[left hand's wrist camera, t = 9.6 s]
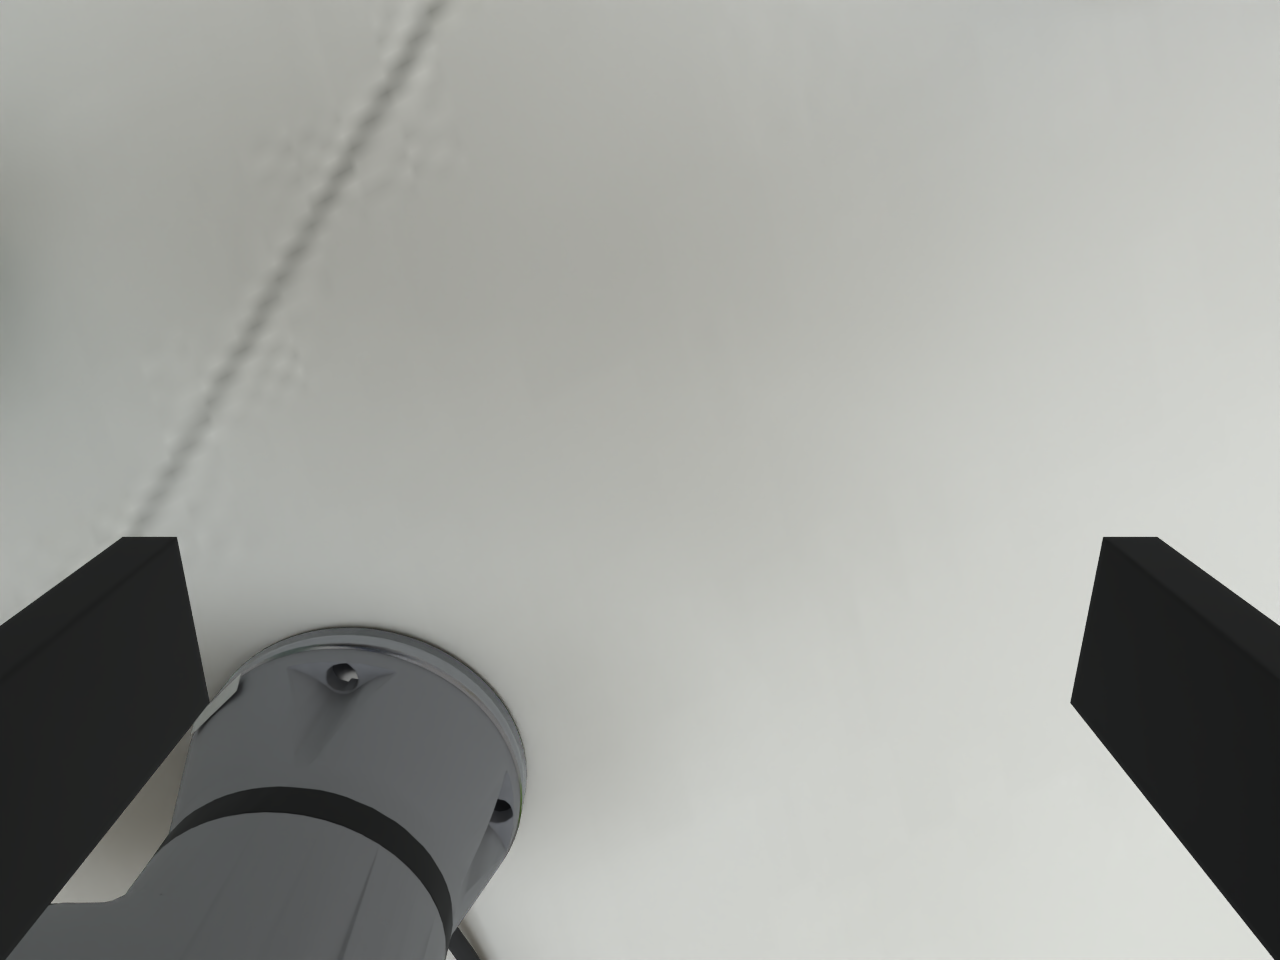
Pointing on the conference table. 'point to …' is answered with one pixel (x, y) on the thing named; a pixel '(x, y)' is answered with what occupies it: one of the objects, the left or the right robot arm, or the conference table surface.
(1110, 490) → the conference table surface
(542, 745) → the conference table surface
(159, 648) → the left robot arm
